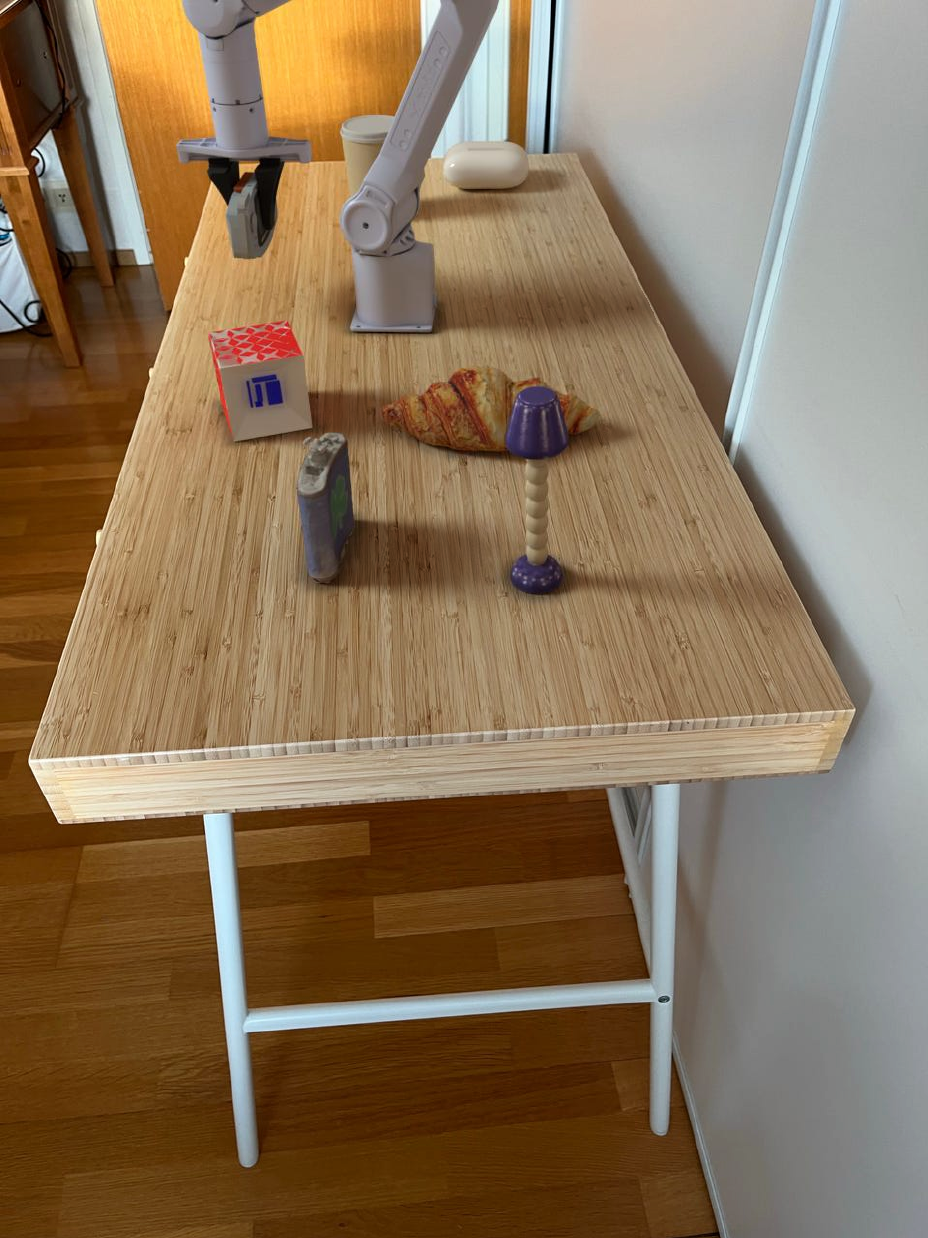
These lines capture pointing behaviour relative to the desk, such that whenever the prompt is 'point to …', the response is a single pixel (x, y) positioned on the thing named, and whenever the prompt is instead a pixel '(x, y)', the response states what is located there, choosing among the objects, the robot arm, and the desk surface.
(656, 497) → the desk surface
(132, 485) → the desk surface
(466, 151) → the earbud case
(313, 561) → the flask
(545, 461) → the toy lamp
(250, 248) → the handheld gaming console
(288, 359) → the white and red cube
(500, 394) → the croissant
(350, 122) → the coffee cup
